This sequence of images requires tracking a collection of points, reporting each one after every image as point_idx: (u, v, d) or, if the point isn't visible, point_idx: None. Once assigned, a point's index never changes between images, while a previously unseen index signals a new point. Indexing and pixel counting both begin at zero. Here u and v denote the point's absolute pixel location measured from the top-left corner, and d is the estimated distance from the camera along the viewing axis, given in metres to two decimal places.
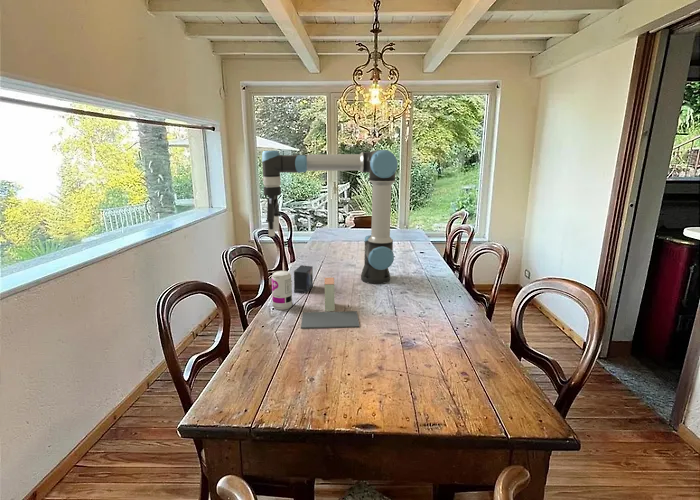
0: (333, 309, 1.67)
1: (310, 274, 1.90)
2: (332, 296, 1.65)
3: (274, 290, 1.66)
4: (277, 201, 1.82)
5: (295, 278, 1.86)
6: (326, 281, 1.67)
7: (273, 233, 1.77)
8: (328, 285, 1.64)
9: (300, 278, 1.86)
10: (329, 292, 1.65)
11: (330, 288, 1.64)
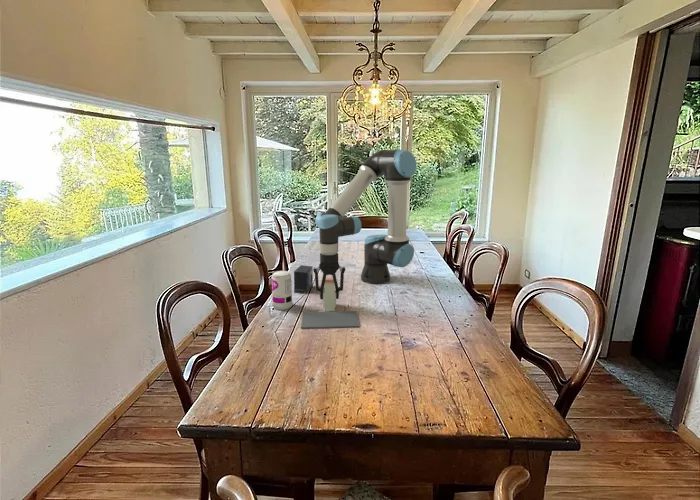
0: (333, 309, 1.67)
1: (310, 274, 1.90)
2: (332, 296, 1.65)
3: (274, 290, 1.66)
4: (331, 270, 1.65)
5: (295, 278, 1.86)
6: (326, 281, 1.67)
7: (323, 304, 1.69)
8: (328, 285, 1.64)
9: (300, 278, 1.86)
10: (329, 292, 1.65)
11: (331, 288, 1.64)
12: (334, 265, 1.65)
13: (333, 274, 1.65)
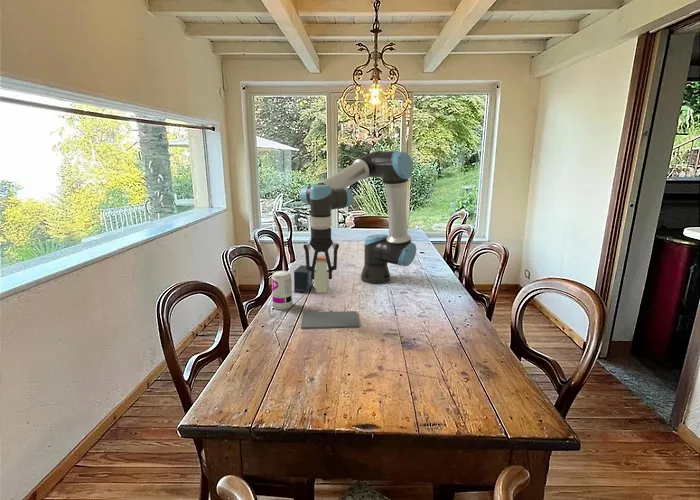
0: (325, 290, 1.51)
1: (310, 274, 1.90)
2: (324, 275, 1.49)
3: (274, 290, 1.66)
4: (323, 246, 1.49)
5: (295, 278, 1.86)
6: (318, 259, 1.51)
7: None
8: (320, 263, 1.48)
9: (300, 278, 1.86)
10: (321, 271, 1.49)
11: (323, 266, 1.48)
12: (326, 241, 1.49)
13: (325, 251, 1.49)
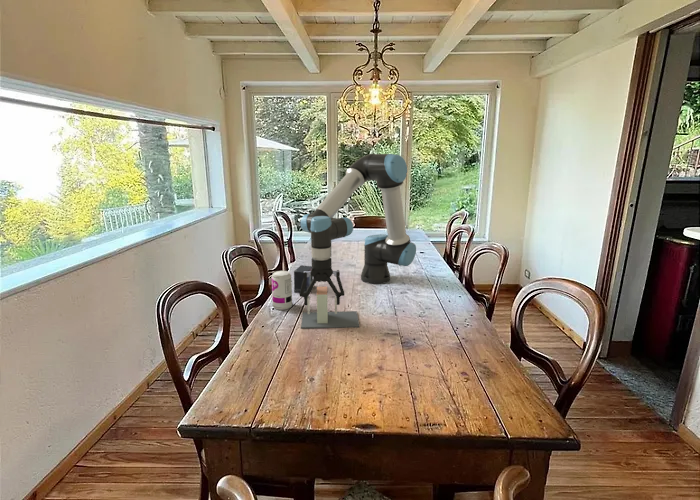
0: (326, 321, 1.54)
1: (310, 274, 1.90)
2: (325, 307, 1.53)
3: (274, 290, 1.66)
4: (324, 276, 1.52)
5: (295, 278, 1.86)
6: (318, 291, 1.54)
7: None
8: (320, 295, 1.51)
9: (300, 278, 1.86)
10: (322, 303, 1.52)
11: (323, 298, 1.52)
12: (326, 272, 1.52)
13: (328, 280, 1.52)
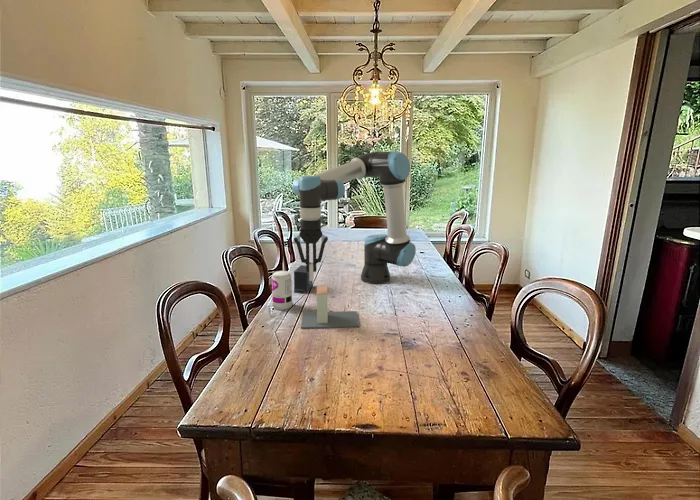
0: (326, 321, 1.54)
1: None
2: (325, 307, 1.53)
3: (274, 290, 1.66)
4: (313, 237, 1.47)
5: (295, 278, 1.86)
6: (318, 291, 1.54)
7: (309, 277, 1.52)
8: (320, 295, 1.51)
9: (300, 278, 1.86)
10: (322, 303, 1.52)
11: (323, 298, 1.52)
12: (316, 232, 1.48)
13: (314, 243, 1.48)
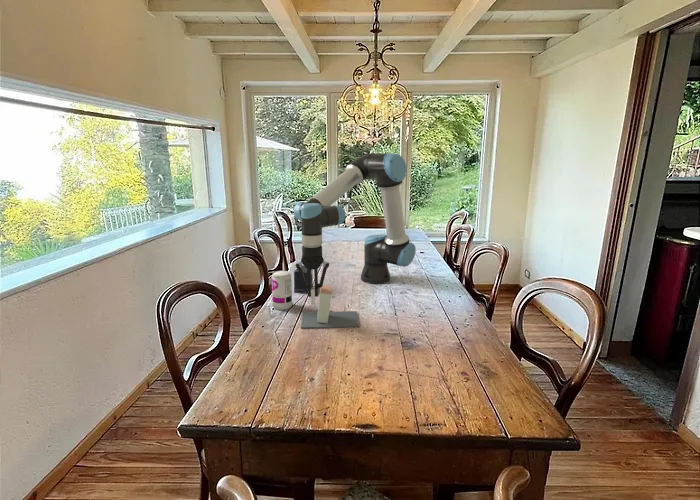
0: (326, 321, 1.54)
1: None
2: (327, 307, 1.53)
3: (274, 290, 1.66)
4: (314, 264, 1.50)
5: (295, 278, 1.86)
6: (322, 290, 1.54)
7: (311, 301, 1.55)
8: (324, 294, 1.51)
9: (300, 278, 1.86)
10: (324, 302, 1.52)
11: (326, 298, 1.52)
12: (318, 258, 1.51)
13: (315, 269, 1.51)
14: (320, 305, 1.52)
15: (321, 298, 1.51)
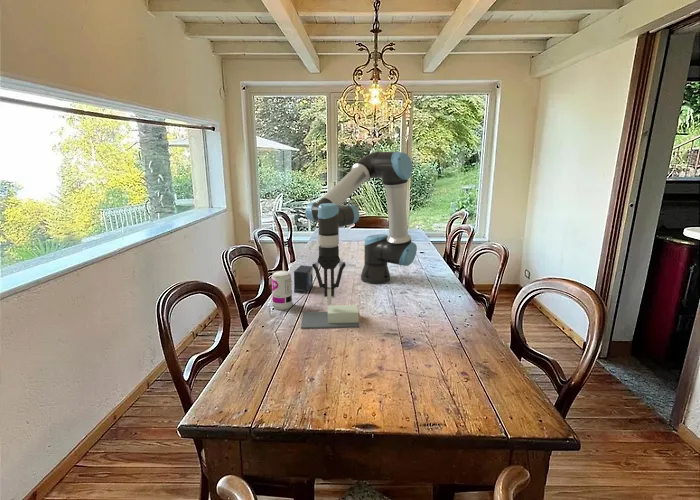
0: (329, 322, 1.54)
1: (310, 274, 1.90)
2: (344, 320, 1.54)
3: (274, 290, 1.66)
4: (331, 263, 1.51)
5: (295, 278, 1.86)
6: (358, 311, 1.57)
7: (327, 301, 1.55)
8: (357, 316, 1.54)
9: (300, 278, 1.86)
10: (349, 317, 1.54)
11: (354, 319, 1.54)
12: (334, 258, 1.51)
13: (332, 269, 1.51)
14: (345, 314, 1.54)
15: (353, 314, 1.54)
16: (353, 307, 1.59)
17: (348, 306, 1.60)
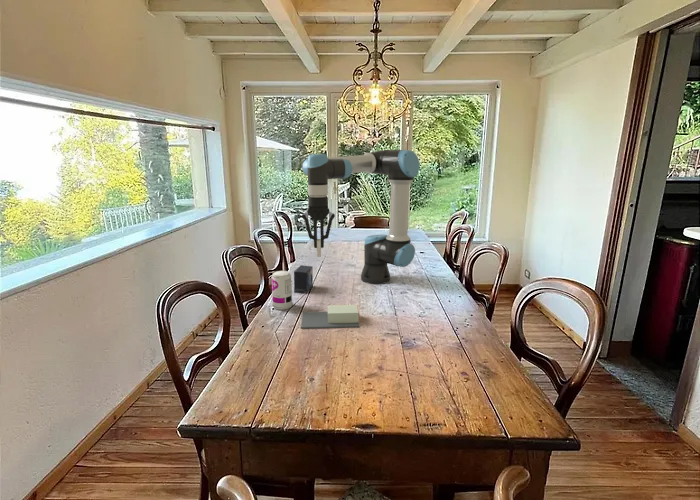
0: (329, 322, 1.54)
1: (310, 274, 1.90)
2: (344, 320, 1.54)
3: (274, 290, 1.66)
4: (320, 214, 1.53)
5: (295, 278, 1.86)
6: (358, 311, 1.57)
7: (317, 253, 1.57)
8: (357, 316, 1.54)
9: (300, 278, 1.86)
10: (349, 317, 1.54)
11: (354, 319, 1.54)
12: (324, 209, 1.53)
13: (321, 219, 1.53)
14: (345, 314, 1.54)
15: (353, 314, 1.54)
16: (353, 307, 1.59)
17: (348, 306, 1.60)
